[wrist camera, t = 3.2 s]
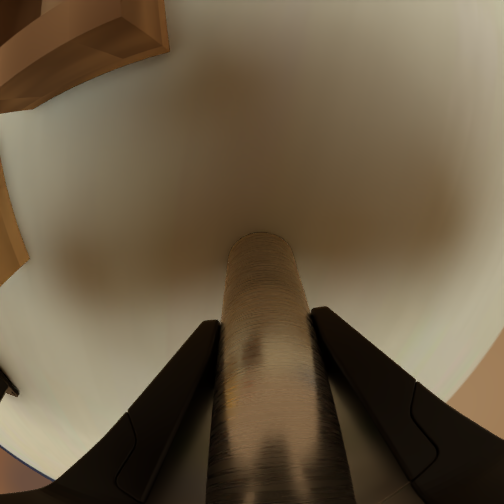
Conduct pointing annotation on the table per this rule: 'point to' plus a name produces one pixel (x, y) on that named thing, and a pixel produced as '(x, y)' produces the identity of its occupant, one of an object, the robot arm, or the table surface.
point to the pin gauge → (272, 389)
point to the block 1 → (9, 236)
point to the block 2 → (72, 44)
